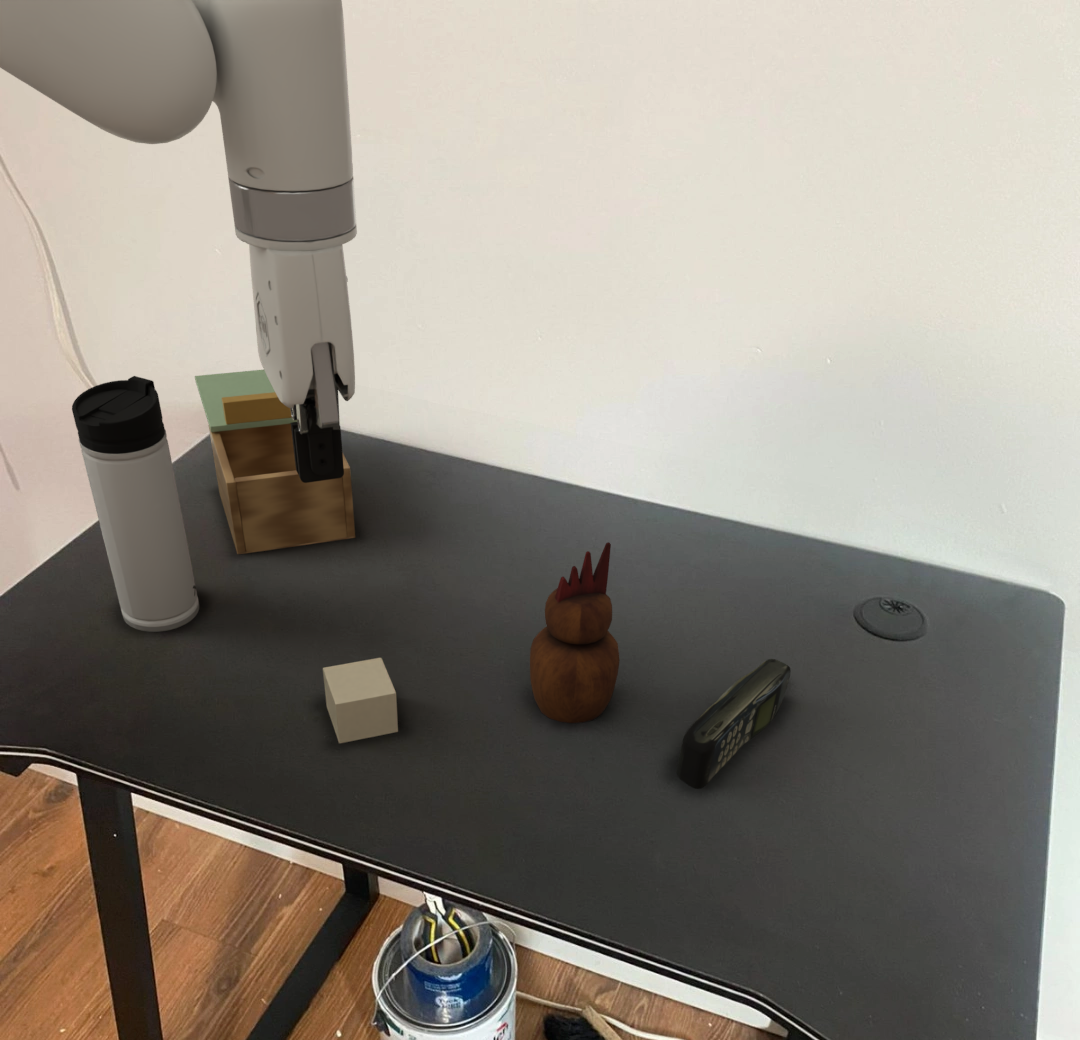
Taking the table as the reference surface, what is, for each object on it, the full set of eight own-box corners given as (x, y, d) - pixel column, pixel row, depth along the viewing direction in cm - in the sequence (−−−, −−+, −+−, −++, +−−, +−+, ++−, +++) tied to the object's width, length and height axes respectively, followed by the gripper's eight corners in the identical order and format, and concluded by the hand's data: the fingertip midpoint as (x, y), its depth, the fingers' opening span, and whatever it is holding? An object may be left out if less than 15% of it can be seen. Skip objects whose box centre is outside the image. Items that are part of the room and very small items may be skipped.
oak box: (238, 561, 99) (226, 482, 93) (220, 499, 107) (208, 424, 102) (355, 544, 102) (350, 467, 97) (329, 485, 110) (323, 411, 105)
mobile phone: (712, 752, 75) (809, 650, 84) (675, 734, 76) (774, 635, 85) (702, 802, 78) (796, 698, 87) (667, 783, 79) (763, 683, 88)
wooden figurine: (610, 689, 87) (629, 527, 77) (614, 736, 83) (635, 571, 73) (527, 686, 87) (536, 523, 77) (527, 732, 82) (536, 567, 73)
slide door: (211, 432, 100) (206, 404, 98) (195, 381, 108) (190, 354, 107) (327, 419, 103) (325, 392, 102) (303, 371, 112) (301, 344, 110)
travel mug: (218, 606, 93) (178, 385, 80) (167, 646, 88) (117, 418, 75) (160, 587, 95) (112, 368, 82) (108, 625, 90) (48, 399, 77)
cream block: (339, 750, 80) (335, 704, 77) (327, 713, 83) (322, 667, 80) (398, 738, 81) (396, 692, 78) (384, 702, 84) (381, 657, 81)
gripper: (213, 179, 70) (249, 437, 82) (256, 250, 60) (290, 534, 72) (325, 173, 73) (345, 425, 85) (385, 240, 62) (398, 517, 74)
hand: (320, 474), depth 78 cm, fingers closed
